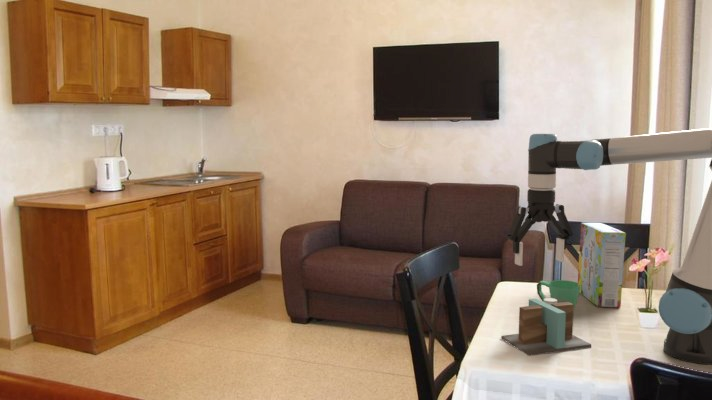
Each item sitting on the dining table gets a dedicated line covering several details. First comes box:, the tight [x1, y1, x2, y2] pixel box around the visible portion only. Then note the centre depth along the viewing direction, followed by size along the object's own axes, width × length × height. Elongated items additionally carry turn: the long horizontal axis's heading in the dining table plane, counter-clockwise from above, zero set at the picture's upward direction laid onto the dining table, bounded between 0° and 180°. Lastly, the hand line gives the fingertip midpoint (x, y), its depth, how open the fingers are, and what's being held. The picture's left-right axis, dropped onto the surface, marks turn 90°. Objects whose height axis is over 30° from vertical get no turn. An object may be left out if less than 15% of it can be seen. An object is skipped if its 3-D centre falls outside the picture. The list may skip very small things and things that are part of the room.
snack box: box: [577, 222, 627, 308], centre depth 222 cm, size 22×9×26 cm, turn 179°
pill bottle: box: [543, 297, 557, 305], centre depth 194 cm, size 5×5×8 cm
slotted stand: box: [500, 302, 592, 356], centre depth 180 cm, size 14×20×11 cm
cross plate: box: [528, 298, 566, 349], centre depth 180 cm, size 14×2×10 cm, turn 18°
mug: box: [536, 279, 581, 311], centre depth 208 cm, size 15×10×10 cm
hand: (539, 262), depth 182 cm, fingers open, 13 cm apart
